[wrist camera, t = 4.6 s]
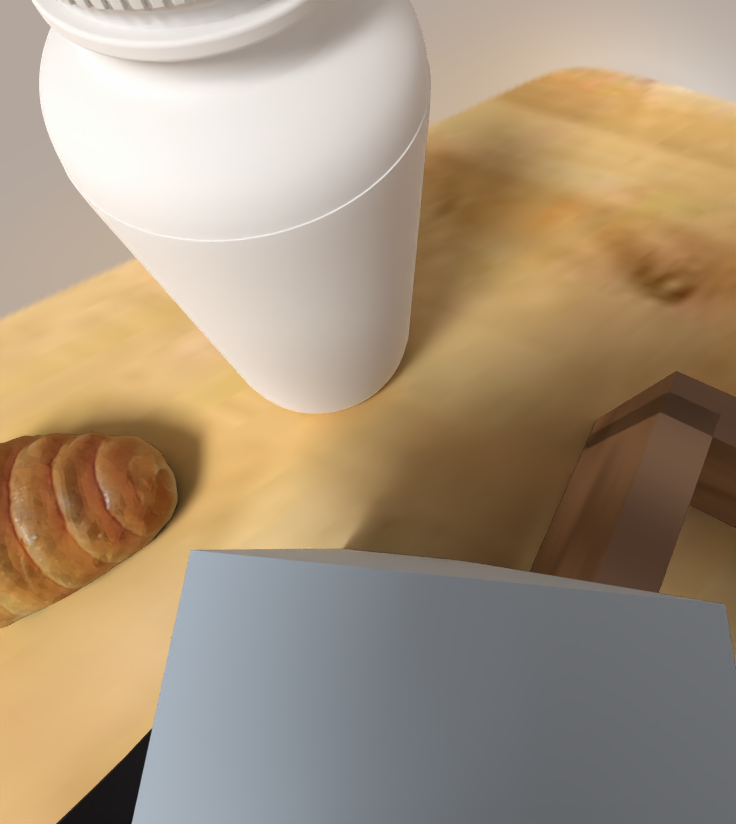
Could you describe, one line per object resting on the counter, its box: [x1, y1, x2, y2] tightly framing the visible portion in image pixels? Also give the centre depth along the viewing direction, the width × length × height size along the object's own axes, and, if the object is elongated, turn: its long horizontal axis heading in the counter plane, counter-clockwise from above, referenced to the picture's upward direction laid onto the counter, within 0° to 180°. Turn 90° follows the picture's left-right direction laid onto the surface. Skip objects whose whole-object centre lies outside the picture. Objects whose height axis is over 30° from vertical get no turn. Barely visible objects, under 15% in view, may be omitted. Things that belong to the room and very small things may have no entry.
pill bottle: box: [32, 0, 431, 414], centre depth 12 cm, size 8×8×15 cm
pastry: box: [0, 432, 178, 628], centre depth 15 cm, size 9×7×4 cm
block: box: [132, 549, 736, 824], centre depth 9 cm, size 4×4×13 cm
